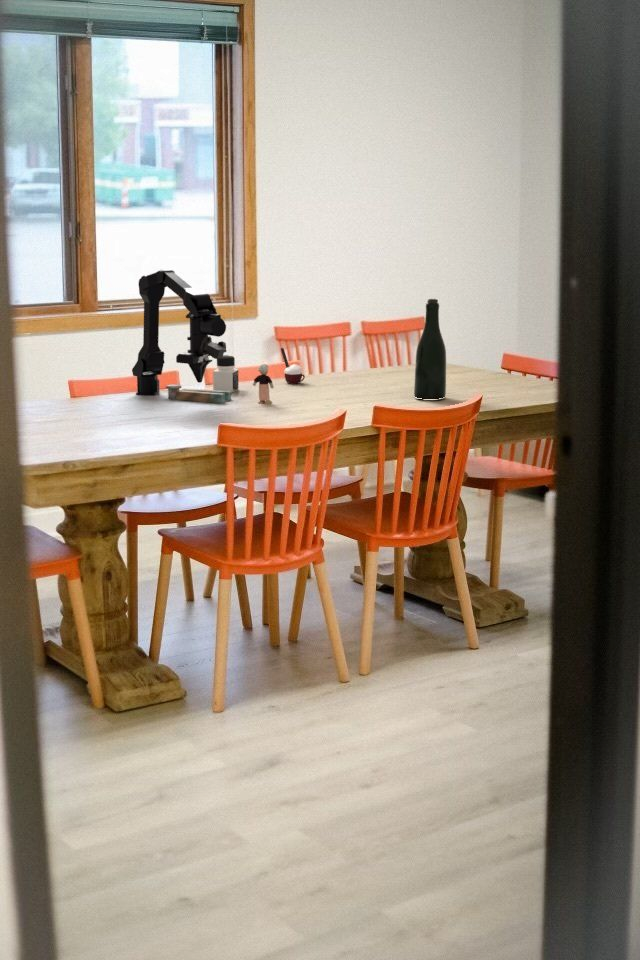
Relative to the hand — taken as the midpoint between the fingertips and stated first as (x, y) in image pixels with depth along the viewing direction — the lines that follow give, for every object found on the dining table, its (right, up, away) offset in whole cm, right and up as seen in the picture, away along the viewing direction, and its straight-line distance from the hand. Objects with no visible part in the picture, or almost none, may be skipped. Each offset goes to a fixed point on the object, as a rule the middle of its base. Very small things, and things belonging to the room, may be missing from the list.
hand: (199, 382), depth 390 cm
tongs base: (-2, -5, +13) cm, 14 cm away
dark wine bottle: (+75, -4, +17) cm, 77 cm away
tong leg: (-1, -5, +9) cm, 11 cm away
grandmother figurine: (+20, -6, +7) cm, 22 cm away
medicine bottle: (+6, -1, +29) cm, 30 cm away
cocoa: (+29, +3, +46) cm, 54 cm away
